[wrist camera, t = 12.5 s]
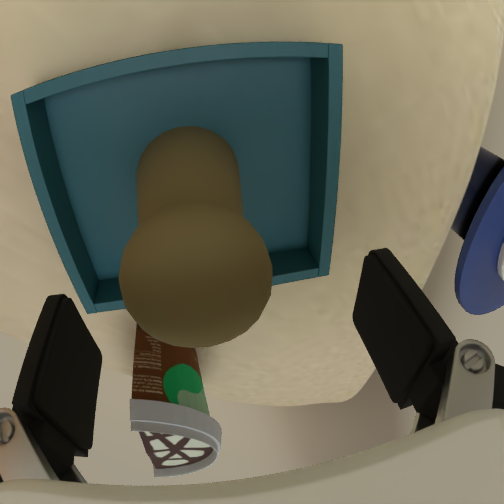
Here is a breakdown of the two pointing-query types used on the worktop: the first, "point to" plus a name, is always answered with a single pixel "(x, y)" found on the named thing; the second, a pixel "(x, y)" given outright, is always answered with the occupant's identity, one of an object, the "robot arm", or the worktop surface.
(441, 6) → the worktop surface
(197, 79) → the tray
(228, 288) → the olive tapered rounded piece
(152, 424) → the food container
